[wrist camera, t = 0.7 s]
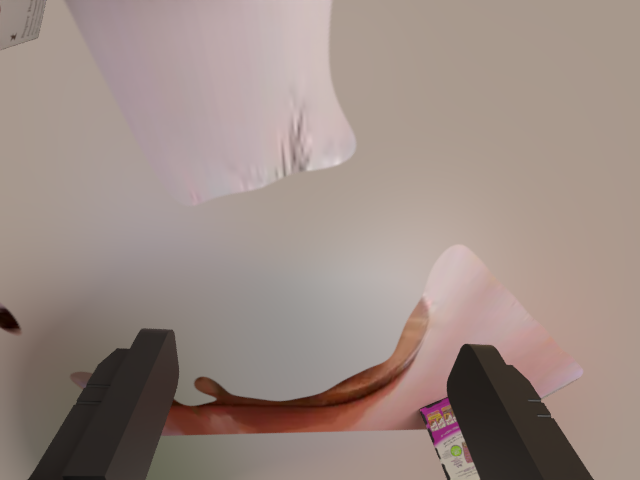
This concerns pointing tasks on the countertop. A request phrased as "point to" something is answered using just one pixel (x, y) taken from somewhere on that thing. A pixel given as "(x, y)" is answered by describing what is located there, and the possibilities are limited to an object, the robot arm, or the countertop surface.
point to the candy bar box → (449, 441)
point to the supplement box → (20, 21)
